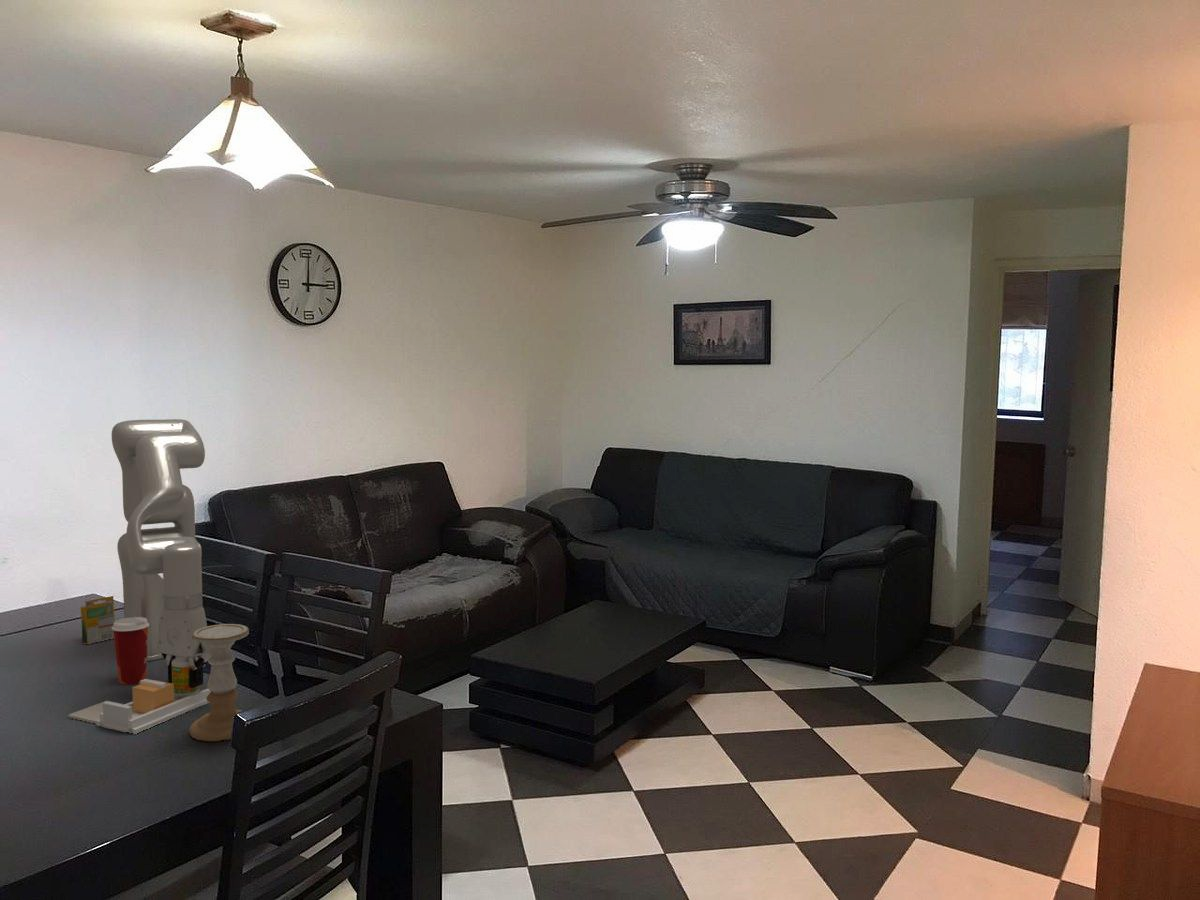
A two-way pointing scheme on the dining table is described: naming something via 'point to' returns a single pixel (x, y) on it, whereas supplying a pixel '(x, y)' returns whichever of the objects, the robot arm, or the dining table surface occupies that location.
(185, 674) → the supplement bottle
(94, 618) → the crayon box
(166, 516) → the robot arm
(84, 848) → the dining table surface
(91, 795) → the dining table surface
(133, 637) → the paper cup
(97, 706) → the pad
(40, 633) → the dining table surface
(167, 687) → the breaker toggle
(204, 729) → the candle holder
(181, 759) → the dining table surface
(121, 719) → the guard channel
